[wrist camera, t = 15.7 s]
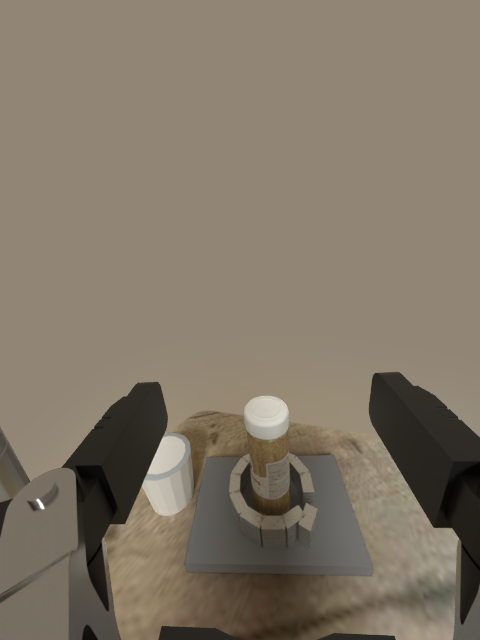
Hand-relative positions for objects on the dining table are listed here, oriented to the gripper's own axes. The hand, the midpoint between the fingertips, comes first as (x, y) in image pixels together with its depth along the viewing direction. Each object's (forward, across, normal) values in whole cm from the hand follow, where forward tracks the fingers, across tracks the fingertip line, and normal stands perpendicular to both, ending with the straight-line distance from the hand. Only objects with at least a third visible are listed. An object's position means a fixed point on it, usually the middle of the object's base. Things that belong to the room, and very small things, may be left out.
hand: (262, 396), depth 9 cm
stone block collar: (+12, 0, +24) cm, 27 cm away
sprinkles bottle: (+12, 0, +25) cm, 27 cm away
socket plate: (+12, 0, +26) cm, 29 cm away
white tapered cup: (+14, +13, +26) cm, 32 cm away
